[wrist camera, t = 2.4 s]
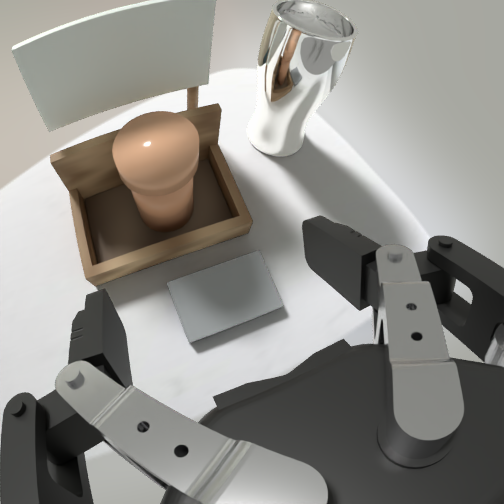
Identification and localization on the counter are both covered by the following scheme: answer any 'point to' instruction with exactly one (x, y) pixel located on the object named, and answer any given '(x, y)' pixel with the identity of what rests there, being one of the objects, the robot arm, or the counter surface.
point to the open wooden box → (126, 212)
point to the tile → (224, 296)
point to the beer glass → (297, 71)
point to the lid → (117, 58)
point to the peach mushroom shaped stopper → (159, 167)
